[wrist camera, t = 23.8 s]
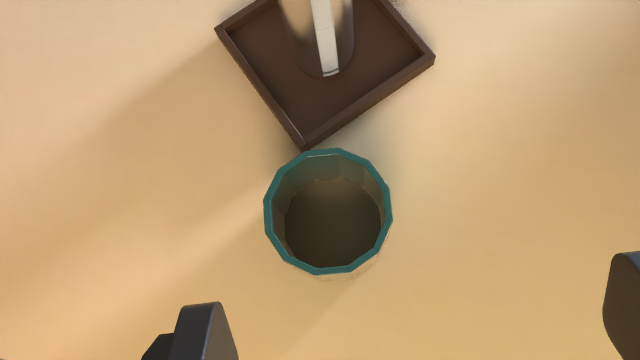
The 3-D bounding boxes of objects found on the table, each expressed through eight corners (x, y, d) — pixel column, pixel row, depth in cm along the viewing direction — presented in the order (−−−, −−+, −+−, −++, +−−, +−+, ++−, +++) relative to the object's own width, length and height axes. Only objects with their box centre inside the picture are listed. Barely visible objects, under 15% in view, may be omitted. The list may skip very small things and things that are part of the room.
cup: (345, 152, 52) (342, 125, 44) (409, 237, 49) (417, 224, 42) (258, 212, 51) (240, 195, 44) (318, 302, 49) (310, 301, 41)
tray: (341, -44, 58) (341, -56, 56) (433, 64, 54) (436, 55, 52) (218, 37, 56) (213, 27, 55) (302, 154, 52) (300, 148, 50)
